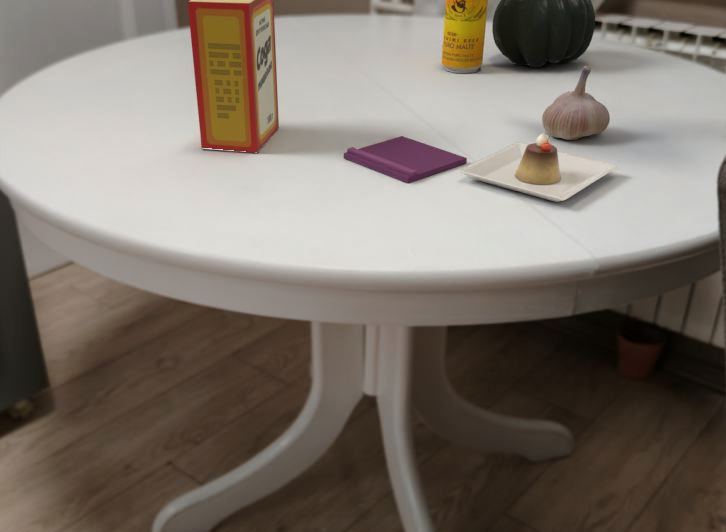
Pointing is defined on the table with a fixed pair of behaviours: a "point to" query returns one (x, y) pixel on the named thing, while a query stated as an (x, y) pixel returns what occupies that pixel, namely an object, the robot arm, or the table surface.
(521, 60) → the squash
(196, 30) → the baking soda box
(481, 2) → the beer can
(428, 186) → the table surface
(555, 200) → the dessert
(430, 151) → the purple flat slab
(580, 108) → the garlic bulb
